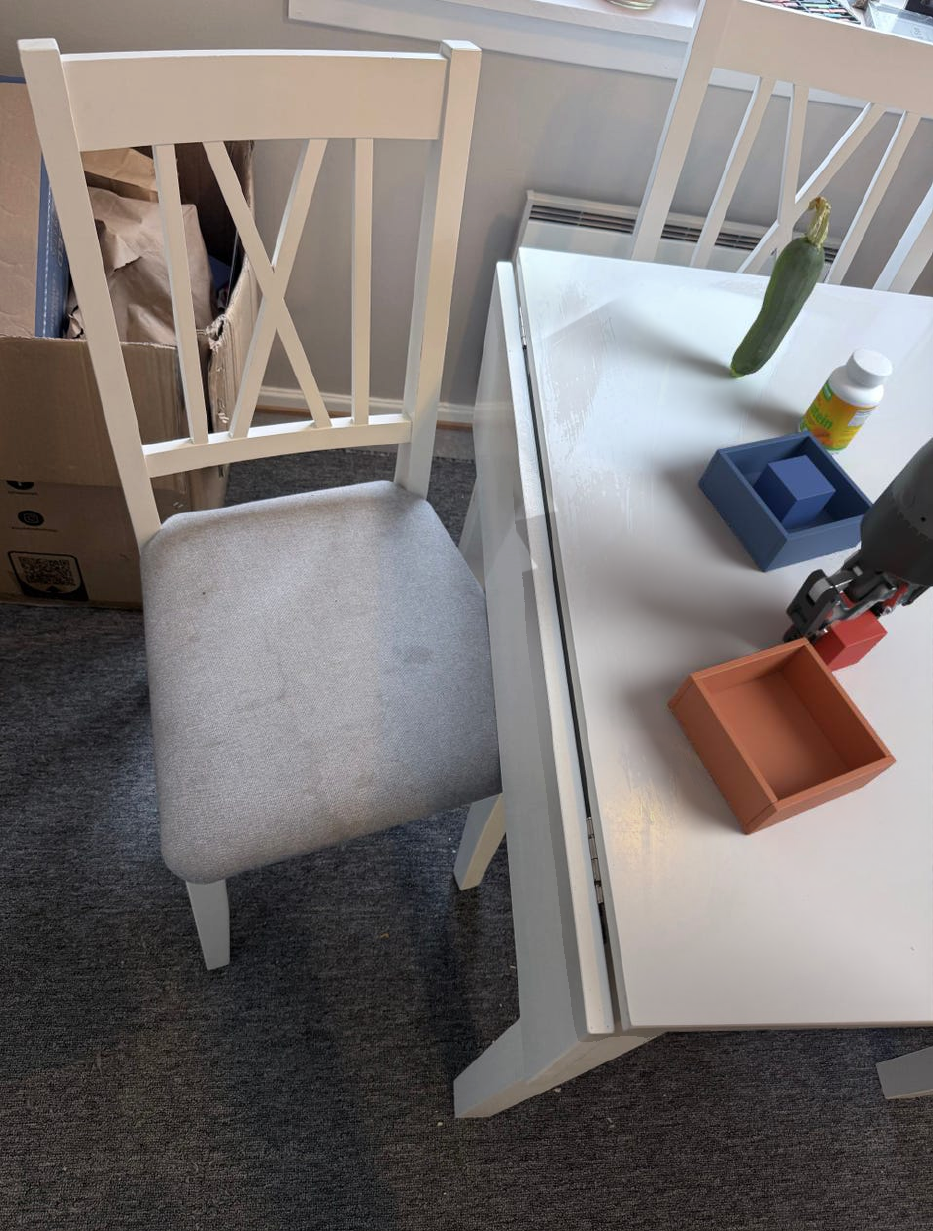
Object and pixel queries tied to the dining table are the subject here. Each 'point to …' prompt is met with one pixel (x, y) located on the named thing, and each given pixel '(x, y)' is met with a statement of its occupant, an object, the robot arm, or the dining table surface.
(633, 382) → the dining table surface
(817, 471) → the blue block
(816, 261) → the vegetable
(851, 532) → the blue bin
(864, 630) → the red block
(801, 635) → the robot arm
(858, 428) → the supplement bottle
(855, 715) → the terracotta bin
